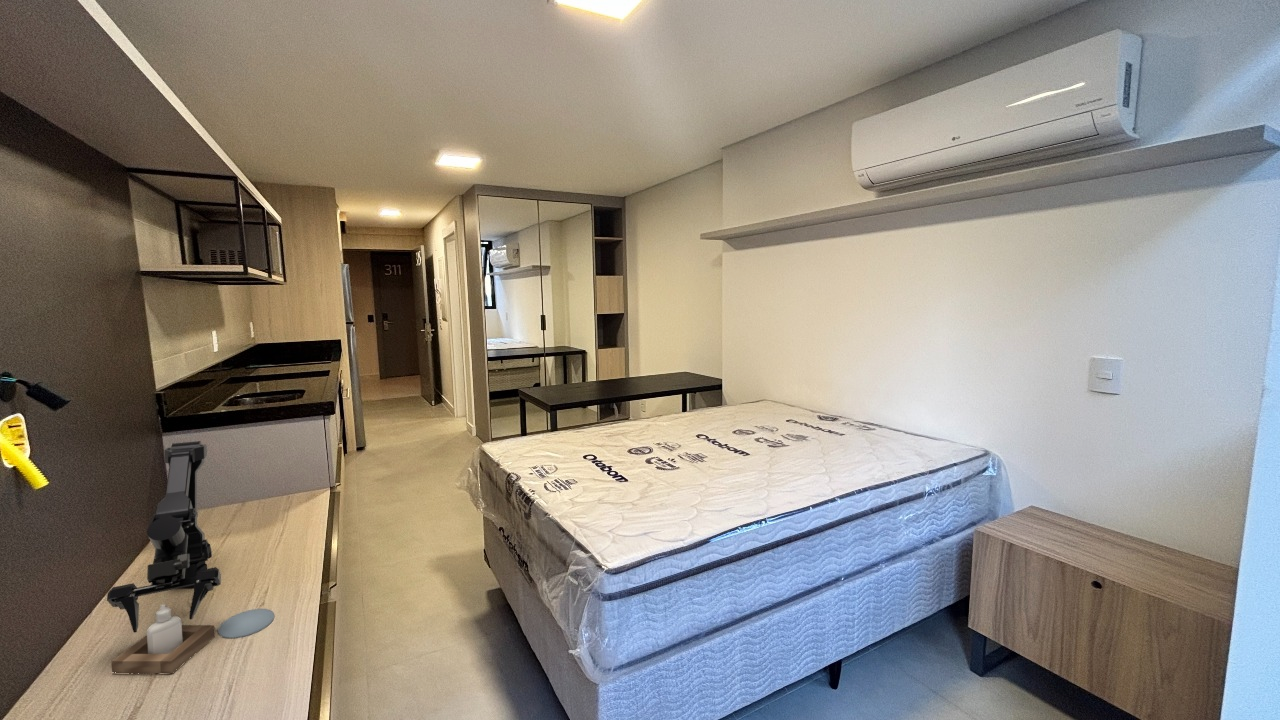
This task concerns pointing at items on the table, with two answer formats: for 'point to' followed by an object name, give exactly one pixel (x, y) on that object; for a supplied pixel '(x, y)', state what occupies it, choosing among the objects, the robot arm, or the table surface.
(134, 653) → the walnut socket block
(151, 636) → the eye dropper bottle
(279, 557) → the table surface
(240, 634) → the slate-blue rubber mat
